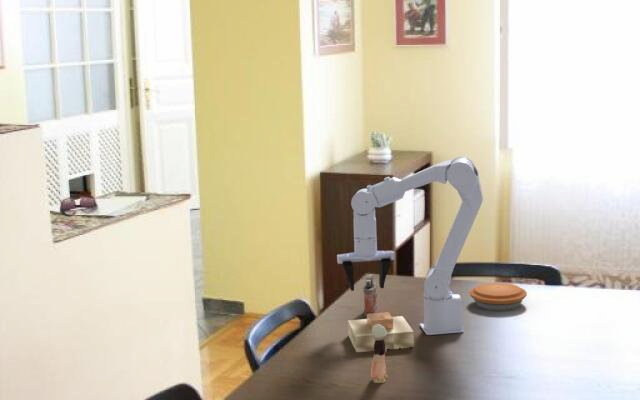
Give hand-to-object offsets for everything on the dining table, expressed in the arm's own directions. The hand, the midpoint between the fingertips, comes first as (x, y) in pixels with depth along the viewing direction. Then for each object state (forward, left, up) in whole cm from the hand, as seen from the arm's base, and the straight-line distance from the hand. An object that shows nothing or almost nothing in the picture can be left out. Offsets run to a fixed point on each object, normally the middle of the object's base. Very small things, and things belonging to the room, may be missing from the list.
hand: (366, 288), depth 229 cm
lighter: (-3, -12, -11) cm, 16 cm away
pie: (-38, -10, -11) cm, 41 cm away
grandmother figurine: (+4, +35, -11) cm, 37 cm away
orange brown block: (-1, +11, -10) cm, 15 cm away
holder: (-1, +11, -10) cm, 15 cm away
